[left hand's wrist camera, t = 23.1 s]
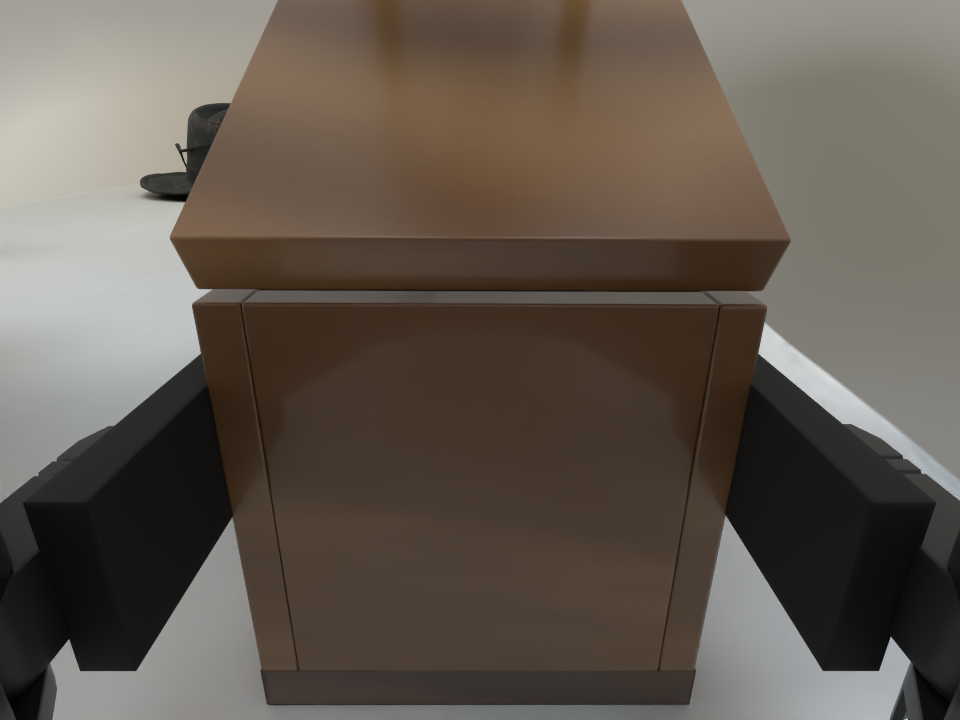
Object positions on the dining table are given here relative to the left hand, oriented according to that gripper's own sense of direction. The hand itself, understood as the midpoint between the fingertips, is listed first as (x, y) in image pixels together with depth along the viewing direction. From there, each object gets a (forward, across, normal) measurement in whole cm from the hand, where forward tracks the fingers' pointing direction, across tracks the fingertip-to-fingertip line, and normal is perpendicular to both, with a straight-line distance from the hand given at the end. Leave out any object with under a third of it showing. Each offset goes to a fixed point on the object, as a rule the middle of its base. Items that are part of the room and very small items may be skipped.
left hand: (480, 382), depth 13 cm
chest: (+3, 0, +6) cm, 7 cm away
